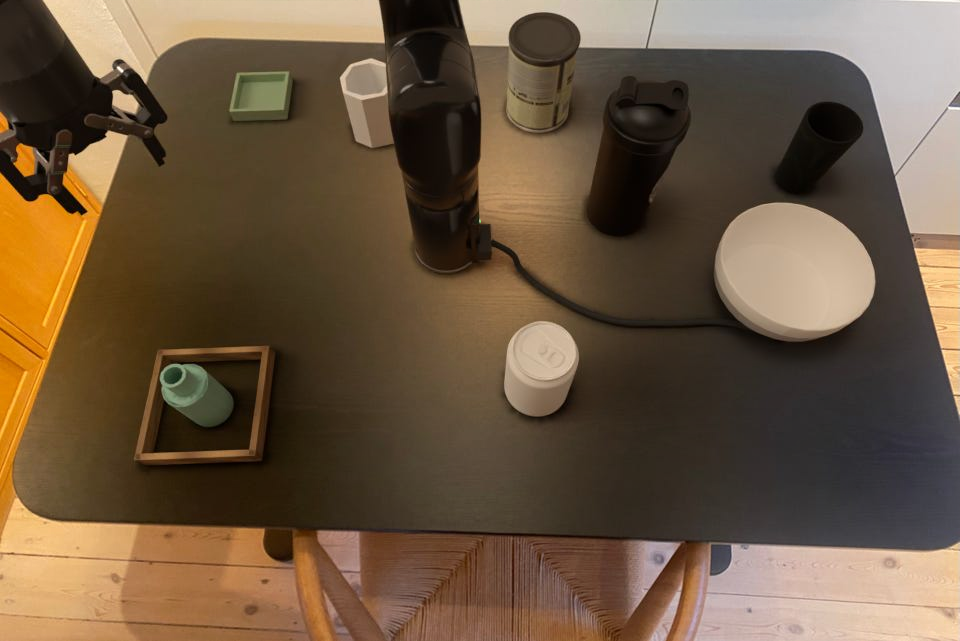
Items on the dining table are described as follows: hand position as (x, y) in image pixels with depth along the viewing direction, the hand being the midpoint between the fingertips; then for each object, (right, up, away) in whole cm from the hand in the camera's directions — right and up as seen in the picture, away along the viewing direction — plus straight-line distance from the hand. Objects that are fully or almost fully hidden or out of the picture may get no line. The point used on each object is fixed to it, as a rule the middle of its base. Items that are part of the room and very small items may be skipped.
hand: (120, 184), depth 60 cm
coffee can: (+45, +21, +39) cm, 63 cm away
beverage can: (+43, -22, +18) cm, 51 cm away
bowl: (+75, -10, +24) cm, 80 cm away
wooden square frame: (+2, -24, +17) cm, 30 cm away
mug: (+21, +17, +38) cm, 46 cm away
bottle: (+2, -24, +17) cm, 30 cm away
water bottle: (+56, +2, +30) cm, 63 cm away
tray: (0, +23, +40) cm, 46 cm away
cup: (+84, +8, +33) cm, 90 cm away
